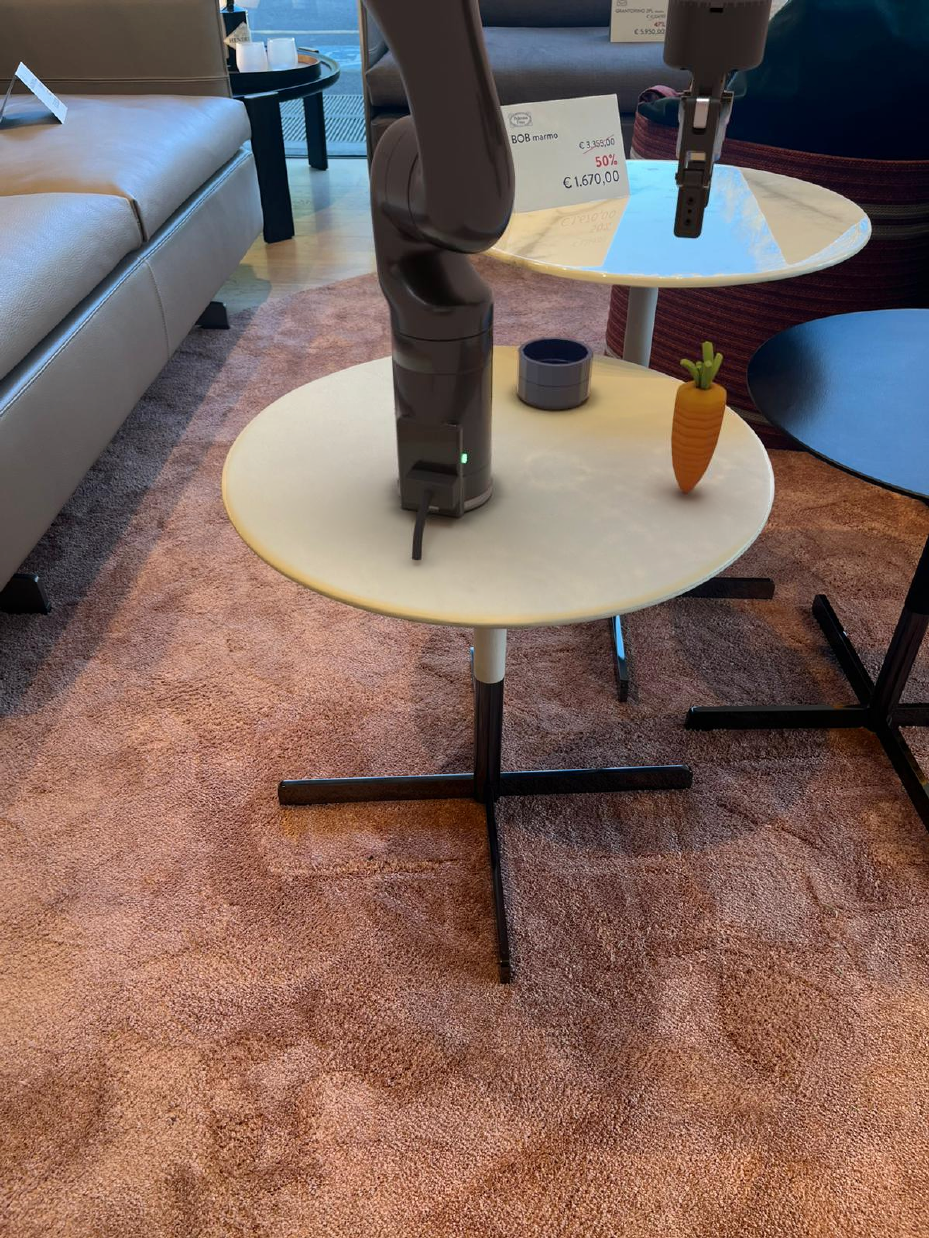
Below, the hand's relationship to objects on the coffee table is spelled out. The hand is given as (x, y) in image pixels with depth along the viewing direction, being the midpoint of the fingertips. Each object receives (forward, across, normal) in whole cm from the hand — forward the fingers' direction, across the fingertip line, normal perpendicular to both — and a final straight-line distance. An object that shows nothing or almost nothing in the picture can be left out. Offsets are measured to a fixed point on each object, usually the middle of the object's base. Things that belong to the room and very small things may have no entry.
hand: (691, 221), depth 78 cm
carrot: (+25, +2, +3) cm, 26 cm away
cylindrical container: (+25, -17, -14) cm, 34 cm away
